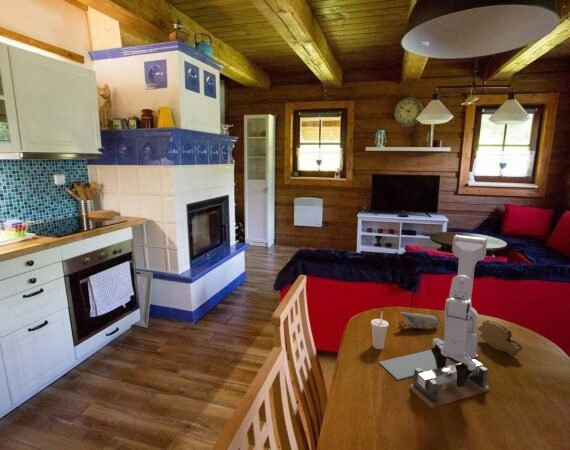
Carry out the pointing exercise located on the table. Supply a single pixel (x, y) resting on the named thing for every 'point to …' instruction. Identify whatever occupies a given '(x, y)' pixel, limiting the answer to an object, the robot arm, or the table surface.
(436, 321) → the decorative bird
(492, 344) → the wooden carving
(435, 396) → the rack
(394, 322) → the table surface
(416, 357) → the mat
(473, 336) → the robot arm
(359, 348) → the table surface
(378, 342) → the smoothie
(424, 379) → the rail
